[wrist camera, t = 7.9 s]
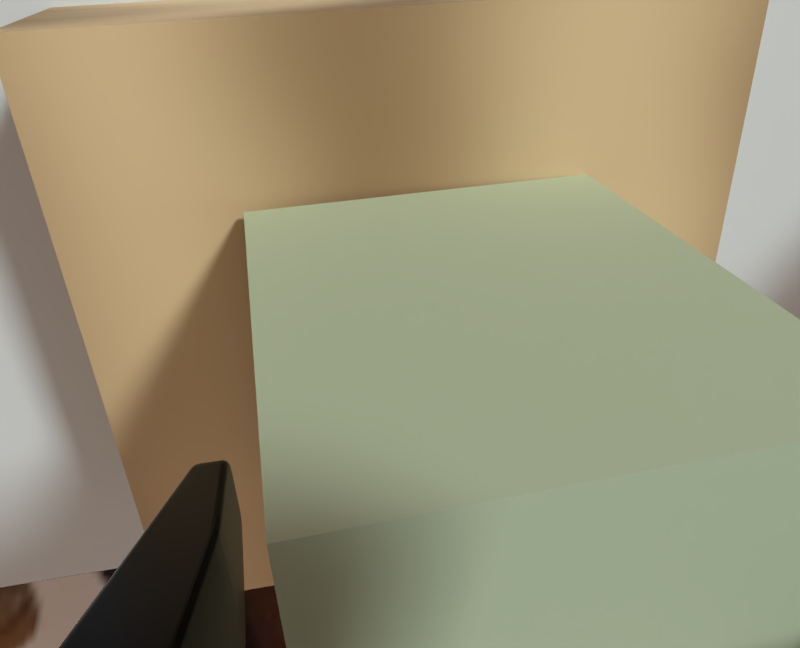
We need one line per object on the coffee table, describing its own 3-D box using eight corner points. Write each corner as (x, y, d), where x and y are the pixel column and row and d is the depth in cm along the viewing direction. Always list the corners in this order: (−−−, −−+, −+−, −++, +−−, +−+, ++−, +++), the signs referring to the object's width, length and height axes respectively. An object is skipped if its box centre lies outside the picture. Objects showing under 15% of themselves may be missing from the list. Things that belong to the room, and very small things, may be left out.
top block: (586, 173, 10) (940, 414, 5) (559, 438, 13) (781, 775, 8) (243, 212, 9) (266, 543, 4) (287, 486, 12) (334, 901, 7)
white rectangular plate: (920, -175, 12) (958, -182, 12) (751, 441, 19) (770, 460, 19) (-356, -133, 10) (-403, -138, 9) (-13, 564, 17) (-25, 591, 16)
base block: (662, -30, 12) (772, -19, 9) (601, 428, 17) (662, 517, 14) (51, 7, 11) (-15, 32, 8) (181, 493, 16) (167, 603, 13)
